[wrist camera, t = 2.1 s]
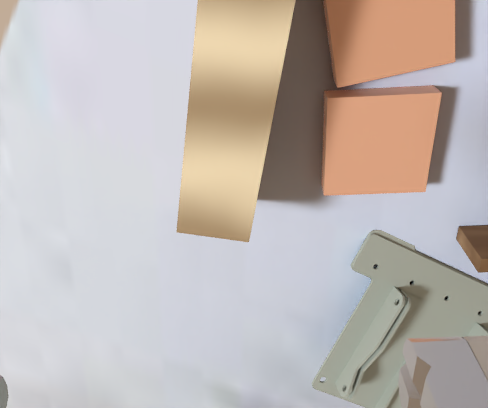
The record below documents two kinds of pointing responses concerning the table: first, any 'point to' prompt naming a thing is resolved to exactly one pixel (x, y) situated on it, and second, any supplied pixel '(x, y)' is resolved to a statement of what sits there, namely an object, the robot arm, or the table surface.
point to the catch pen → (475, 245)
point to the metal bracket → (398, 319)
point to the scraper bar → (230, 113)
